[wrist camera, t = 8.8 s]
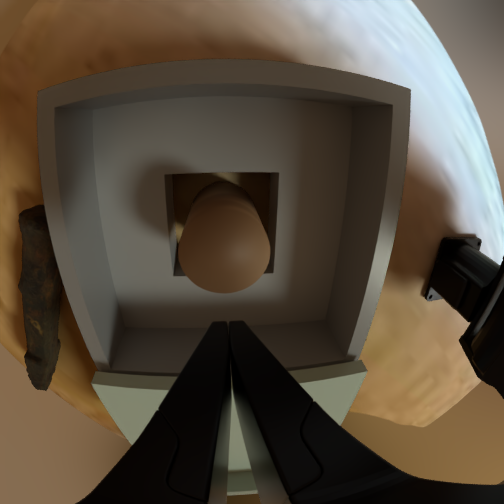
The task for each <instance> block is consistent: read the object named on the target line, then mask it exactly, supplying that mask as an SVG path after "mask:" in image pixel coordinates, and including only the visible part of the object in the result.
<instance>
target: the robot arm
mask: <svg viewBox="0 0 504 504" xmlns="http://www.w3.org/2000/svg"><path fill="white" fill-rule="evenodd" d="M481 242H482V241H481V239H479V238H467V237H446V238H444V239H443V240H442V242H441V245H440V249H439V253H438V256H437V260H436V263H435V266H434V270H433V273H432V276H431V279H430V282H429V285H428V288H427V291H426V294H425V299H426V300H427V301H433V300H439V299H444V300H445V301H446V302H447V303H448V304H449V305H450V306H451V307H452V308H453V309H455V310H456V311H457V312H458V313H459V314H460V315H461V316H462V317H463V318H464V319H465V320H466V321H467V322H470V325H469V326H468V328H467V330H466V331H465V333H464V334H463V335H462V336H461V337H460V339H459V342H460V344H461V346H462V348H463V350H464V352H465V354H466V356H467V358H468V359H469V361H470V363H471V365H472V367H473V369H474V371H475V373H476V375H477V377H478V378H480V380H482V381H484V382H485V383H487V384H488V385H491V386H493V387H495V389H497V391H498V392H499V393H500V394H501V396H502V397H503V399H504V256H503V261H502V263H501V265H499V264H497V263H496V262H494V261H493V260H492V259H490V258H489V257H487V256H486V255H484V254H483V253H481V252H480V251H479V250H480V246H481ZM228 329H229V334H228ZM230 364H231V367H230ZM231 377H232V387H231ZM232 389H233V397H234V402H235V407H236V411H237V415H238V419H239V423H240V427H241V431H242V435H243V439H244V443H245V447H246V451H247V455H248V459H249V462H250V466H251V470H252V473H253V477H254V480H255V484H256V487H257V491H258V494H259V498H260V501H261V504H504V481H502V482H501V483H499V484H498V485H478V484H461V483H452V482H443V481H435V480H429V479H423V478H418V477H415V476H412V475H410V474H407V473H405V472H403V471H401V470H399V469H398V468H396V467H395V466H393V465H392V464H390V463H389V462H387V461H386V460H384V459H383V458H382V457H380V456H379V455H377V454H376V453H375V452H373V451H372V450H371V449H369V448H368V447H367V446H365V445H364V444H362V443H361V442H360V441H358V440H357V439H356V438H355V437H353V436H352V435H351V434H350V433H348V432H347V431H346V430H345V429H343V428H342V427H341V426H340V425H339V424H338V423H337V422H336V421H335V420H334V419H333V418H332V417H330V416H329V415H328V414H327V413H326V412H325V411H324V410H323V409H322V407H321V406H320V405H319V404H318V403H317V402H316V401H313V398H312V397H311V396H310V395H309V394H308V393H307V392H306V391H305V389H304V388H303V387H302V386H301V385H300V384H299V383H298V382H297V381H296V380H295V379H294V377H293V376H292V375H291V374H290V373H289V372H288V371H287V370H286V369H285V367H284V366H283V365H282V364H281V363H280V362H279V361H278V360H277V358H276V357H275V356H274V355H273V354H272V353H271V352H270V350H269V349H268V348H267V347H266V346H265V345H264V344H263V342H262V341H261V340H260V339H259V338H258V337H257V335H256V334H255V333H254V332H253V331H252V330H251V328H250V327H249V326H248V325H247V324H246V322H245V321H243V320H231V321H229V322H228V323H227V321H213V322H212V323H211V324H210V326H209V327H208V329H207V330H206V332H205V334H204V335H203V337H202V338H201V340H200V342H199V343H198V345H197V346H196V348H195V350H194V351H193V353H192V354H191V356H190V358H189V359H188V361H187V362H186V364H185V366H184V367H183V369H182V370H181V372H180V374H179V375H178V377H177V378H176V380H175V382H174V383H173V385H172V386H171V388H170V390H169V391H168V393H167V394H166V396H165V397H164V399H163V401H162V402H161V404H160V405H159V407H158V410H156V412H155V413H154V415H153V416H152V418H151V420H150V421H149V423H148V424H147V426H146V427H145V428H144V430H143V431H142V433H141V434H140V436H139V437H138V439H137V440H136V441H135V442H134V444H133V445H132V446H131V447H130V449H129V450H128V451H127V452H126V453H125V455H124V456H123V457H122V458H121V459H120V461H119V462H118V463H117V464H116V465H115V466H114V467H113V468H112V470H111V471H110V472H109V473H108V474H107V475H106V476H105V478H104V479H103V480H102V481H101V482H100V483H99V484H98V485H97V486H96V488H95V489H94V490H93V491H92V492H91V493H90V494H88V495H87V496H86V497H85V498H84V499H82V500H81V501H79V502H77V503H76V504H226V503H227V483H228V463H229V443H230V425H231V407H232Z"/></svg>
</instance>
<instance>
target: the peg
mask: <svg viewBox="0 0 504 504" xmlns="http://www.w3.org/2000/svg"><path fill="white" fill-rule="evenodd" d="M178 257H179V262H180V265H181V268H182V270H183V272H184V273H185V275H186V276H187V277H188V278H189V279H190V280H191V281H192V282H193V283H194V284H195V285H197V286H198V287H200V288H202V289H204V290H207V291H210V292H214V293H224V294H226V293H234V292H238V291H241V290H243V289H246V288H248V287H249V286H251V285H252V284H254V283H255V282H256V281H257V280H258V279H259V278H260V277H261V276H262V275H263V273H264V272H265V270H266V268H267V266H268V263H269V259H270V244H269V240H268V237H267V234H266V232H265V230H264V228H263V225H262V223H261V221H260V218H259V216H258V214H257V211H256V209H255V207H254V204H253V202H252V200H251V198H250V196H249V195H248V194H247V192H246V191H245V190H243V189H242V188H241V187H239V186H237V185H235V184H232V183H228V182H218V183H213V184H211V185H208V186H206V187H205V188H203V189H202V190H201V191H200V192H199V193H198V194H197V195H196V197H195V199H194V201H193V203H192V206H191V209H190V212H189V215H188V218H187V221H186V224H185V227H184V230H183V233H182V236H181V239H180V242H179V248H178Z"/></svg>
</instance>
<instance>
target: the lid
mask: <svg viewBox="0 0 504 504" xmlns="http://www.w3.org/2000/svg"><path fill="white" fill-rule="evenodd" d="M288 372H289V373H290V374H291V375H292V376H293V377H294V379H295V380H296V381H297V382H298V383H299V384H300V385H301V386H302V387H303V388H304V389H305V391H306V392H307V393H308V394H309V395H310V396H311V397H312V398H313V401H316V402H317V403H318V404H319V405H320V406H321V407H322V409H323V410H324V411H325V412H326V413H327V414H328V415H329V416H330V417H332V418H333V419H334V420H335V421H336V422H337V423H338V424H339V425H341V423H342V422H343V420H344V418H345V416H346V414H347V412H348V410H349V409H350V407H351V405H352V403H353V401H354V399H355V397H356V395H357V393H358V391H359V389H360V386H361V384H362V382H363V380H364V378H365V376H366V373H367V369H366V367H365V365H364V364H363V362H362V360H358V361H352V362H347V363H341V364H336V365H330V366H323V367H317V368H310V369H302V370H294V371H288ZM176 378H177V377H170V376H145V375H129V374H117V373H107V372H97V371H95V374H94V377H93V380H92V383H91V384H92V386H93V388H94V389H95V391H96V393H97V394H98V396H99V398H100V399H101V401H102V403H103V404H104V406H105V407H106V409H107V411H108V412H109V414H110V415H111V417H112V418H113V420H114V421H115V423H116V424H117V426H118V427H119V428H120V430H121V431H122V433H123V434H124V435H125V437H126V438H127V440H128V441H129V442H130V443H131V445H133V444H134V442H135V441H136V440H137V439H138V437H139V436H140V434H141V433H142V431H143V430H144V428H145V427H146V426H147V424H148V423H149V421H150V420H151V418H152V416H153V415H154V413H155V412H156V410H158V407H159V405H160V404H161V402H162V401H163V399H164V397H165V396H166V394H167V393H168V391H169V390H170V388H171V386H172V385H173V383H174V382H175V380H176ZM231 387H232V377H231ZM254 493H258V491H257V487H256V484H255V480H254V477H253V473H252V470H251V466H250V462H249V459H248V455H247V451H246V447H245V443H244V439H243V435H242V431H241V427H240V423H239V419H238V415H237V411H236V407H235V402H234V397H233V389H232V407H231V425H230V443H229V463H228V483H227V495H242V494H254Z"/></svg>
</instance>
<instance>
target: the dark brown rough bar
mask: <svg viewBox="0 0 504 504" xmlns="http://www.w3.org/2000/svg"><path fill="white" fill-rule="evenodd" d="M19 224H20V230H21V233H22V240H23V249H22V273H21V278H20V281H19V284H18V288H19V290H20V291H21V293H22V301H23V312H24V325H25V332H26V338H27V348H28V349H27V352H26V354H25V356H24V358H25V363H26V366H27V369H26V370H27V372H28V373H29V374H28V376H29V378H30V380H31V382H32V384H33V386H34V387H35V388H36V389H37V390H45V391H46V390H47V389H48V386H49V385H50V382H51V380H52V375H53V373H54V372H55V366H56V363H57V360H58V354H59V350H60V340H59V339H58V320H59V314H60V310H59V303H60V294H61V287H62V278H61V275H60V271H59V268H58V264H57V261H56V257H55V253H54V249H53V245H52V241H51V236H50V232H49V227H48V222H47V217H46V211H45V206H44V205H37V206H35V207H32V208H29V209H26V210H24V211H22V212H21V213H20V214H19Z"/></svg>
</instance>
